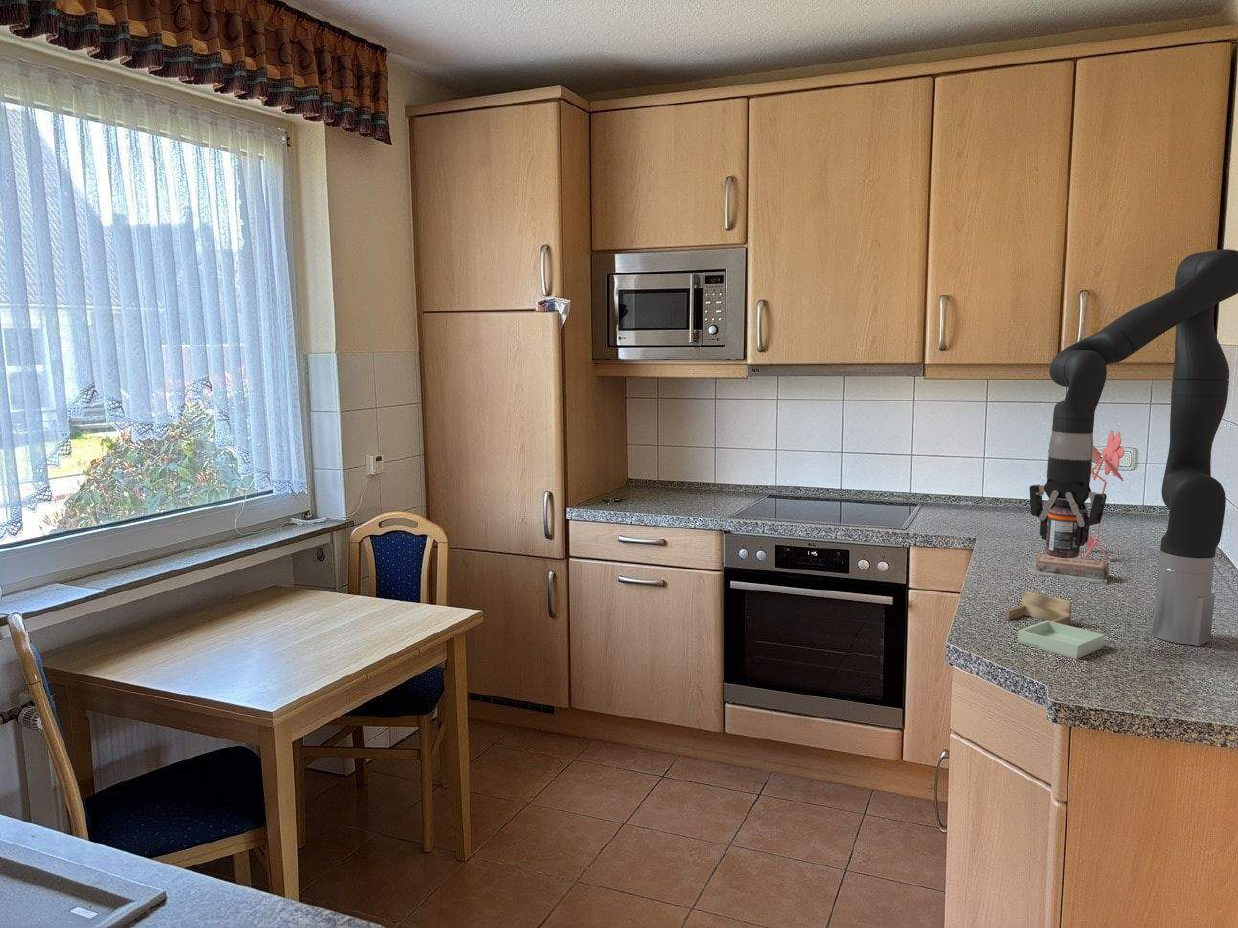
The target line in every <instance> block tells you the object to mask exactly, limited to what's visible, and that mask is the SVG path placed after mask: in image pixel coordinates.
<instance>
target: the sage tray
mask: <svg viewBox="0 0 1238 928" xmlns="http://www.w3.org/2000/svg"><path fill="white" fill-rule="evenodd" d="M1105 636H1106V634H1103V633H1100V632H1095V631H1091V630H1088V629H1085V628H1084V629H1083V628H1080V627H1075V626H1072V625H1069V626H1068V625H1064V624H1060V623H1056V622H1052V621H1048V620H1044V621H1043V620H1042V621H1041V622H1038V623H1035V624H1033V625H1030V626H1028V627H1024V628H1022V629H1019V630H1018V635H1017V644H1020V643H1021V644H1020V645H1023V644H1024V646H1027V647H1031V648H1034V647H1035V649H1038V650H1041V649H1042V650H1043V651H1045V652H1050V653H1053V654H1055V655H1060V656H1063V657H1068V658H1072V659H1075V660H1078V659H1080V658H1083V657H1084V656H1086V655H1090V654H1092V653H1094V652H1096V651H1099V650H1101V649H1103V648H1104V647H1105V639H1106V638H1105ZM1042 650H1041V651H1042Z"/></svg>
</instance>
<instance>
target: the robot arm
mask: <svg viewBox="0 0 1238 928" xmlns="http://www.w3.org/2000/svg"><path fill="white" fill-rule="evenodd" d="M1236 295H1238V250H1235V249H1230V248H1226V249H1215V250H1208V251H1200V252H1195V253H1191V254H1189V255H1188V256H1186V257H1184V258H1183V259H1182V260H1181V261H1180V263H1179V264H1178V267H1177V268H1176V272H1175V277H1174V289H1172V290H1171V291H1169V292H1167V293H1164V294H1162V295H1160V296H1158V297H1156V298H1154V299H1152V300H1150V301H1147V302H1145V303H1142V304H1140V305H1139V306H1136V307H1134V308H1133V309H1130V310H1129V311H1127V312H1125V313H1124V314H1123V315H1121V316H1119V317H1118V318H1116V319H1115V320H1114V321H1112V322H1111V323H1109V324H1107V325H1106V326H1105V327H1103V328H1102V329H1101V330H1099V331H1097V332H1096V333H1094V334H1091V335H1090V336H1087V337H1086V338H1083V339H1081V340H1080V341H1078V342H1075V343H1073V344H1071V345H1069V346H1067V347H1066V348H1064V349H1063V350H1061V351H1060V352H1058V353H1057V354H1056V355H1055V356H1054V357H1053V359H1052V360H1051V363H1050V365H1049V371H1048V372H1049V376H1050V378H1051V380H1052V381H1053V382H1054V383H1055V384H1057V385H1058V386H1061V387H1065V388H1068V389H1067V391H1066V396H1065V398H1064V400H1061V401H1058V402H1056V404H1055V406H1054V408H1053V413H1052V427H1051V433H1050V439H1049V446H1048V450H1047V453H1048V457H1047V469H1046V482H1045V484H1042V485H1040V484H1034V485H1030V486H1029V504H1030V515H1031V516H1034V517H1037V518H1038V519H1040V523H1039V525H1040V527H1039V535H1040V537H1041V540H1045V541H1046V534H1047V521H1048V511H1049V510H1050V509H1051V508H1052V507H1053V506H1054V505H1055V501H1056V498H1064V499H1067V501H1068V502H1069V505H1070V507H1071V510H1072V512H1073V514H1074V515H1075V516H1076V519H1077V522H1078V525H1079V526H1078V527H1077V535H1076V546H1080V547H1083V546H1085V543H1087V541H1088V535H1090V532H1089V531H1090V527H1091V526H1094V525H1098V524H1099V523H1102V518H1103V514H1104V509H1105V506H1106V502H1107V494H1106V493H1105V492H1104V493H1102V492H1101V493H1099V492H1095V491H1092V490H1091V487H1090V483H1091V477H1092V475H1091V469H1092V468H1093V467H1092V464H1093V458H1092V455H1093V446H1094V426H1095V412H1096V410H1097V407H1098V404H1099V402H1100V400H1101V396H1102V393H1103V390H1104V388H1105V384H1106V381H1107V375H1108V370H1107V369H1108V368H1107V365H1111V364H1116V363H1117V364H1118V363H1120V362H1122V361H1123V362H1124V360H1126V359H1128V358H1129V357H1131V356H1132V355H1134V354H1136V353H1137V352H1138V351H1139V350H1141V349H1143V348H1144V347H1145V346H1147V345H1149V343H1151V342H1153V341H1154V340H1155V339H1157V338H1158V337H1160V336H1161V335H1163V334H1164V333H1166V332H1168V331H1169V330H1171V329H1173V328H1174V327H1175V340H1174V341H1175V343H1174V359H1173V360H1174V361H1173V362H1174V363H1173V370H1172V371H1173V372H1172V379H1171V380H1172V381H1171V393H1170V394H1171V395H1170V414H1169V415H1170V418H1169V448H1168V453H1167V454H1168V455H1167V460H1166V463H1165V464H1166V465H1165V469H1164V474H1163V479H1162V484H1161V489H1160V490H1161V491H1160V492H1161V493H1160V494H1161V499H1162V502H1163V503H1164V505H1165V506H1166V508H1167V509H1168V510H1169V515H1168V522H1167V528H1166V532H1165V534H1164V535H1162V536H1161V540H1160V545H1159V555H1158V556H1159V557H1158V567H1157V577H1156V588H1155V598H1154V607H1153V617H1152V618H1153V620H1152V623H1151V624H1152V629H1151V634H1152V636H1153V637H1156V638H1157V639H1160V640H1162V641H1165V642H1171V643H1175V644H1181V645H1191V646H1192V645H1193V646H1197V647H1200V646H1203V645H1204V644H1206V643H1208V642H1210V641H1211V636H1212V628H1213V627H1212V626H1213V619H1214V618H1213V615H1214V607H1215V597H1216V596H1215V595H1216V594H1215V593H1213V592H1212V590H1213V589H1212V588H1213V580H1214V571H1215V563H1216V562H1215V561H1216V553H1217V547H1218V546H1219V544H1220V542H1221V538H1222V535H1223V527H1224V522H1225V514H1226V506H1227V505H1226V504H1227V500H1226V499H1227V496H1226V491H1225V489H1224V486H1223V485H1222V483H1220V481H1219V480H1217V479H1216V478H1214V477H1213V476H1212V470H1211V468H1212V466H1211V463H1212V458H1211V457H1212V447H1213V443H1214V439H1215V437H1216V434H1217V431H1218V429H1219V427H1220V424H1221V422H1222V420H1223V416H1224V415H1225V412H1226V411H1225V410H1226V408H1227V402H1228V397H1229V384H1230V383H1229V382H1230V367H1229V364H1228V363H1229V362H1228V360H1227V358H1226V355H1225V353H1224V351H1223V349H1222V346H1221V344H1220V342H1219V340H1218V337H1217V334H1216V330H1215V325H1214V315H1215V313H1214V312H1215V305H1217V304H1219V303H1221V302H1223V301H1226V300H1227V299H1230V298H1231V297H1234V296H1236ZM1045 494H1046V496H1047V497H1048V499H1047V501H1046V502H1045V504H1044V505H1043V503H1044V502H1043V496H1044V495H1045ZM1088 499H1089V500H1090V501H1089V502H1090V503H1091V504H1092V505H1091V506H1092V508H1090V512H1089V509H1087V508H1088V507H1087V505H1086V502H1087V500H1088ZM1088 512H1089V514H1088Z"/></svg>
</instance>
